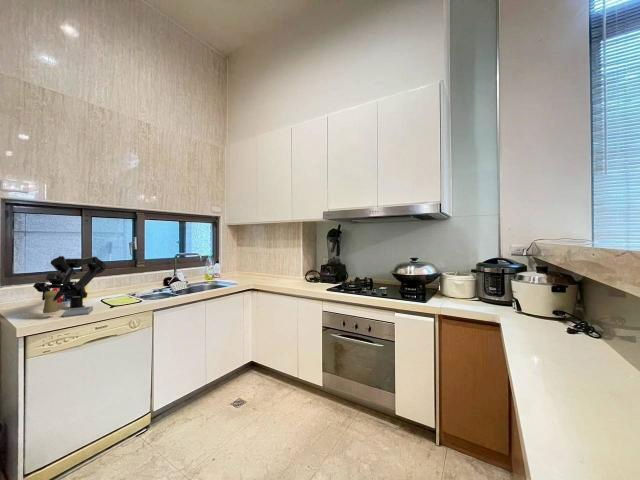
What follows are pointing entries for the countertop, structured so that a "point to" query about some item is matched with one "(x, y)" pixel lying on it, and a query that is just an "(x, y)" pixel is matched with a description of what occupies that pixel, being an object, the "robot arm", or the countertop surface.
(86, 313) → the grey tray
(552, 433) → the countertop surface
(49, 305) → the cork
